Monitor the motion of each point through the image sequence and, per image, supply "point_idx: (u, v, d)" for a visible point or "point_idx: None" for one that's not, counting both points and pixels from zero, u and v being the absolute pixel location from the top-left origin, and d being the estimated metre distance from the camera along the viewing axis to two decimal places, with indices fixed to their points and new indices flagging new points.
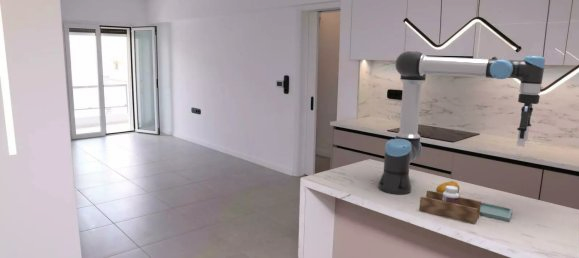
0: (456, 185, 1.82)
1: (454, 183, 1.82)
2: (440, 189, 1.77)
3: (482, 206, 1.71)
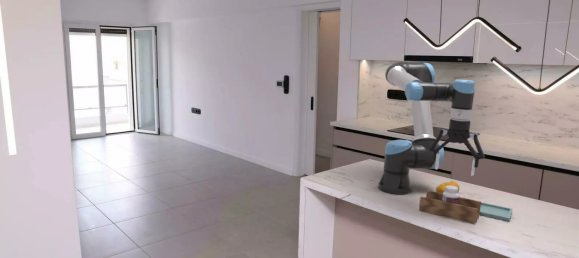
0: (456, 185, 1.82)
1: (454, 183, 1.82)
2: (440, 189, 1.77)
3: (482, 206, 1.71)
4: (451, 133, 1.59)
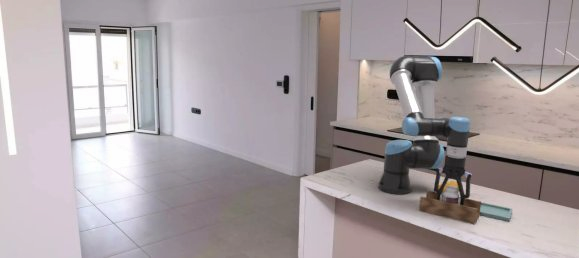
0: (456, 185, 1.82)
1: (454, 183, 1.82)
2: None
3: (482, 206, 1.71)
4: (447, 168, 1.61)
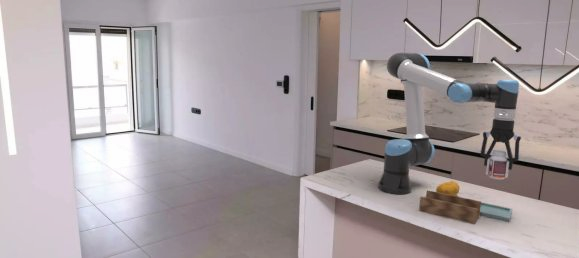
0: (456, 185, 1.82)
1: (454, 183, 1.82)
2: (440, 189, 1.77)
3: (482, 206, 1.71)
4: (494, 132, 1.60)
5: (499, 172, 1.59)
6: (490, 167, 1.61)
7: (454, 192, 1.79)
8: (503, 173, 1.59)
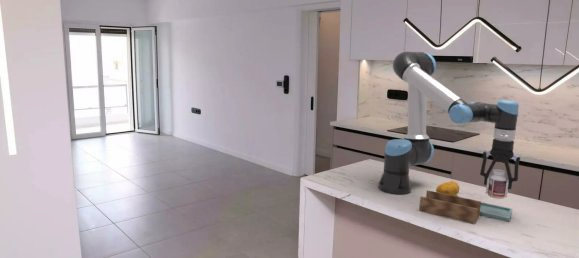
0: (456, 185, 1.82)
1: (454, 183, 1.82)
2: (440, 189, 1.77)
3: (482, 206, 1.71)
4: (494, 152, 1.62)
5: (499, 191, 1.61)
6: (490, 186, 1.63)
7: (454, 192, 1.79)
8: (503, 193, 1.61)
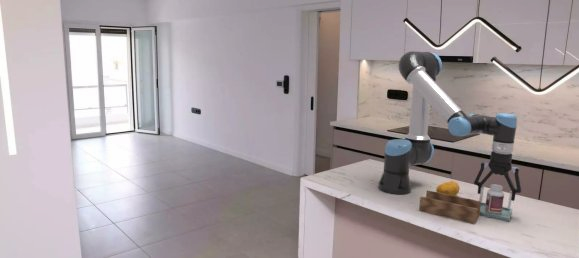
0: (456, 185, 1.82)
1: (454, 183, 1.82)
2: (440, 189, 1.77)
3: (482, 206, 1.71)
4: (492, 165, 1.63)
5: (496, 206, 1.62)
6: (487, 201, 1.65)
7: (454, 192, 1.79)
8: (500, 208, 1.63)
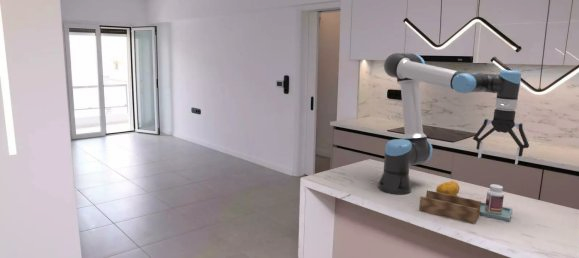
0: (456, 185, 1.82)
1: (454, 183, 1.82)
2: (440, 189, 1.77)
3: (482, 206, 1.71)
4: (496, 122, 1.62)
5: (496, 207, 1.62)
6: (487, 201, 1.65)
7: (454, 192, 1.79)
8: (500, 208, 1.63)
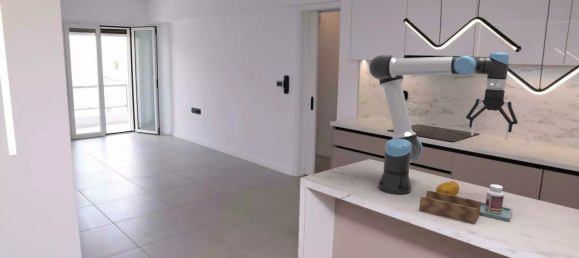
0: (456, 185, 1.82)
1: (454, 183, 1.82)
2: (440, 189, 1.77)
3: (482, 206, 1.71)
4: (486, 101, 1.74)
5: (496, 207, 1.62)
6: (487, 201, 1.65)
7: (454, 192, 1.79)
8: (500, 208, 1.63)
